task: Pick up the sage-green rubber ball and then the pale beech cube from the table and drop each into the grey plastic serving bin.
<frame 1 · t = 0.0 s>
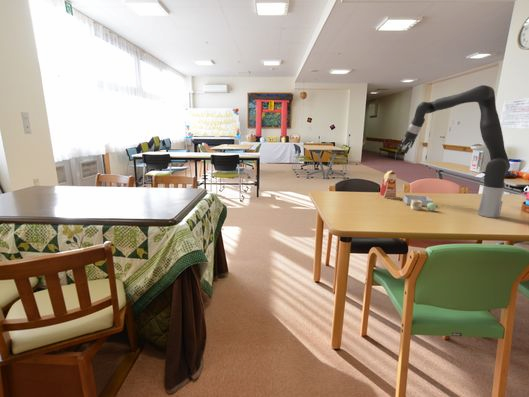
hand: (401, 153, 208), 31 cm above the table, tool tilted 20°, fingers open, 8 cm apart
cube: (415, 208, 183), on the table
bin: (416, 203, 196), on the table
ball: (430, 210, 179), on the table
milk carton: (387, 197, 213), on the table
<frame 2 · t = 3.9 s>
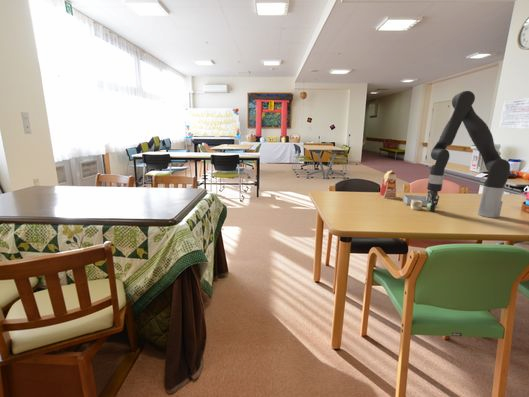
hand: (430, 209, 179), 1 cm above the table, tool pointing down, fingers closed on ball, 5 cm apart
ball: (430, 210, 179), on the table, touching gripper
everything else where it was.
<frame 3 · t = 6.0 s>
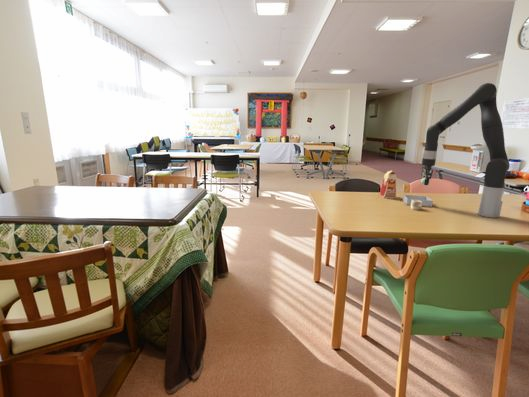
hand: (424, 184, 190), 14 cm above the table, tool pointing down, fingers closed on ball, 5 cm apart
ball: (424, 185, 190), point 13 cm above the table, touching gripper
everything else where it was.
when the fingers open (4 cm above the table, at t = 8.0 s): ball drops 3 cm, resting on bin.
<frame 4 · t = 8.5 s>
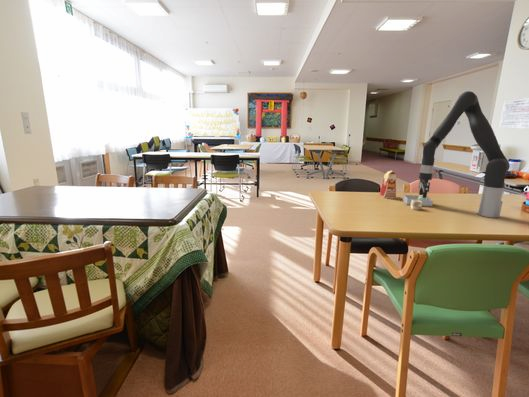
hand: (422, 196, 194), 5 cm above the table, tool pointing down, fingers open, 8 cm apart
ball: (421, 202, 195), point 1 cm above the table, touching bin
everything else where it was.
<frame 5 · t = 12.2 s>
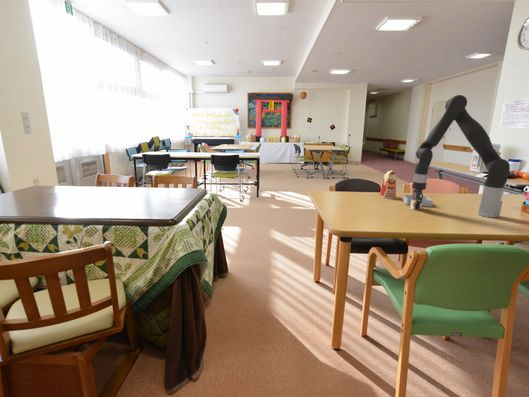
hand: (415, 207, 182), 0 cm above the table, tool pointing down, fingers closed on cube, 5 cm apart
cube: (415, 208, 183), on the table, touching gripper
everything else where it was.
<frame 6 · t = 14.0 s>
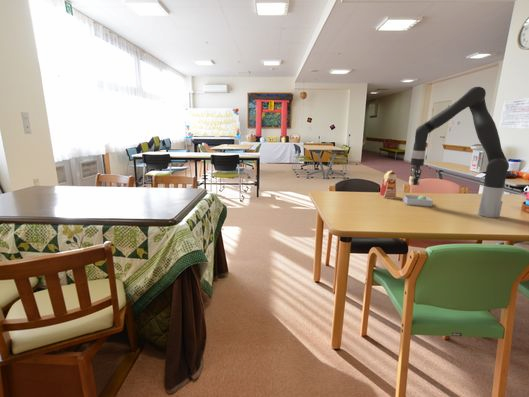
hand: (413, 183, 190), 14 cm above the table, tool pointing down, fingers closed on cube, 5 cm apart
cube: (413, 184, 190), point 13 cm above the table, touching gripper
everything else where it was.
when the fingers open (4 cm above the table, at t = 16.1 s): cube drops 3 cm, resting on bin.
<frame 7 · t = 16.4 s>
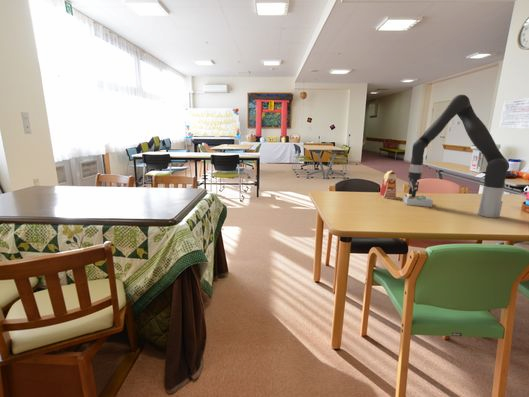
hand: (411, 195, 195), 5 cm above the table, tool pointing down, fingers open, 8 cm apart
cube: (410, 202, 196), point 1 cm above the table, touching bin
everything else where it was.
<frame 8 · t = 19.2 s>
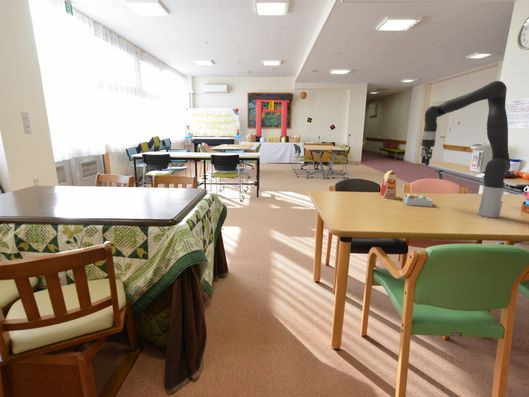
hand: (424, 164, 191), 26 cm above the table, tool pointing down, fingers open, 8 cm apart
nothing on the table moved.
at the end: ball inside the target area on the bin (2.9 cm from its centre), point 0.6 cm above the bin's base; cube inside the target area on the bin (3.5 cm from its centre), point 0.6 cm above the bin's base; the gripper is holding nothing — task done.
